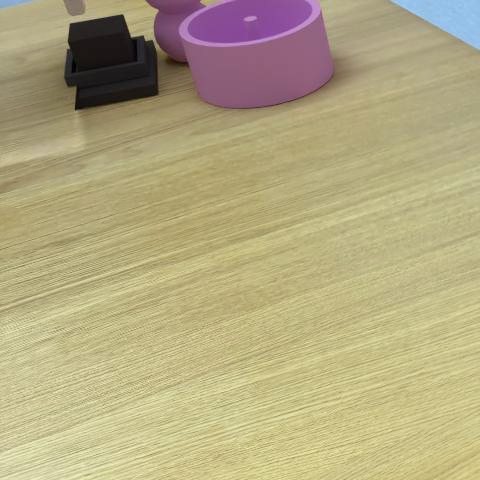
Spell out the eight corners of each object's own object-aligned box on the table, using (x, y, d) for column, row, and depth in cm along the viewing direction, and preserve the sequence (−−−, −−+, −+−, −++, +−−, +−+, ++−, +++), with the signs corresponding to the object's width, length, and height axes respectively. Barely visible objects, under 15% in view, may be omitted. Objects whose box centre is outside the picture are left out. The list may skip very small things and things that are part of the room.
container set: (361, 67, 117) (335, -63, 108) (254, 119, 110) (216, -16, 100) (226, 26, 130) (193, -94, 120) (122, 70, 122) (77, -54, 113)
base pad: (66, 111, 115) (56, 87, 113) (71, 65, 125) (62, 41, 123) (158, 94, 117) (150, 70, 115) (156, 49, 126) (148, 26, 124)
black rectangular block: (83, 83, 117) (67, 41, 114) (84, 63, 122) (69, 23, 118) (137, 73, 118) (123, 31, 115) (137, 54, 122) (123, 13, 119)
